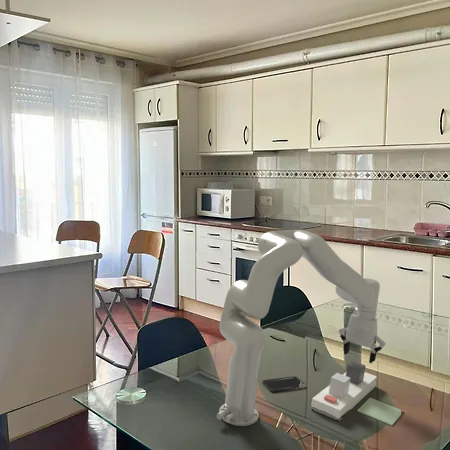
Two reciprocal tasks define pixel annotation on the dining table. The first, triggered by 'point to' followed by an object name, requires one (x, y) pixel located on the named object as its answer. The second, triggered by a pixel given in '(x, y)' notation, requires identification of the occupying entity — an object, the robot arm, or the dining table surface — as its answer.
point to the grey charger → (339, 385)
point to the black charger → (355, 372)
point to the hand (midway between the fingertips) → (358, 357)
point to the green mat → (380, 411)
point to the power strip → (339, 405)
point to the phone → (282, 384)
